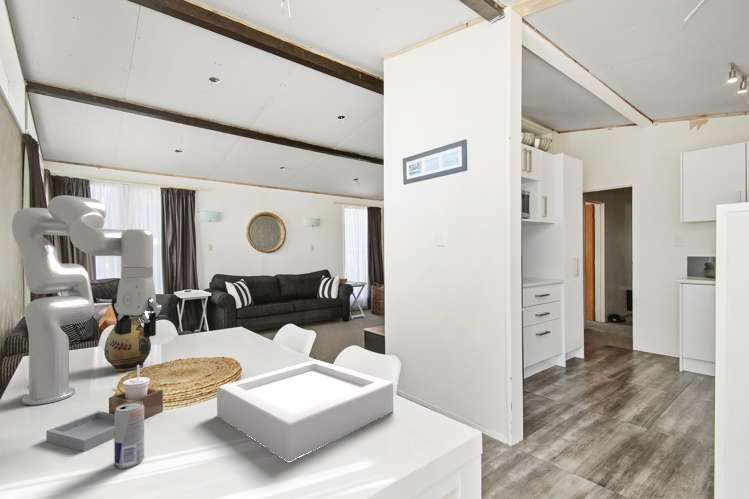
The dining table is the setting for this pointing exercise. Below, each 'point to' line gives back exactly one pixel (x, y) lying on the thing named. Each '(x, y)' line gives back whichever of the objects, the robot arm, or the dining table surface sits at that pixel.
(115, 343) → the ceramic jug
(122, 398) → the deep holder
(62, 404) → the dining table surface
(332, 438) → the tray
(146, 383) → the smoothie
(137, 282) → the robot arm
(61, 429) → the slate tray
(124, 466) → the energy drink
